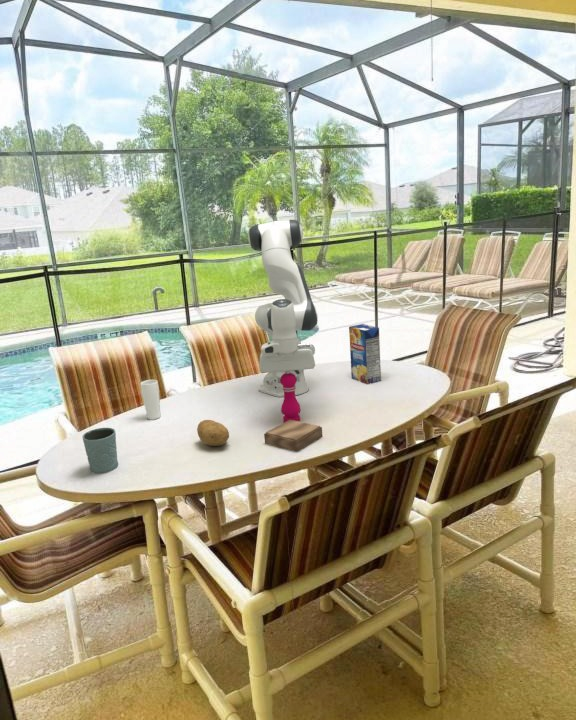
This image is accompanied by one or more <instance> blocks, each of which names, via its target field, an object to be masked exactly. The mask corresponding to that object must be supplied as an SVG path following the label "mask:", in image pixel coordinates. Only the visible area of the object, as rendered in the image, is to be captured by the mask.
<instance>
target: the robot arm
mask: <svg viewBox="0 0 576 720" xmlns="http://www.w3.org/2000/svg"><path fill="white" fill-rule="evenodd" d="M303 235H304V230H303V228H302V225H301V223H300V222H299V221H298V220H296V219H289V220H288V219H287V220H273V221H270V222H264V223H261V224H258V223H257V224H254V225H252V226H250V228H249V229H248V235H247V241H248V244H249V246H250V247H251V249H252V250H254V251H256V252H261V261H262V267H263V270H265V272H266V273H267V278H268V279H267V280H268V286H269V288H270V290H271V291H272V292H274V293H275V294H278V295H281V296H282V297H283V298H279V299H276V300H274V301H272V302H270V303H269V302H268V303H266V304H262V305H260V306H258V307H257V308H256V310H255V314H254V320H255V323H256V325H257V326H258V328H259V329H261V330H264V332H266V333H267V334H268V335H269V336H270V338H271V340H270V341H268V342H266V343H263V344H262V345H261V348H260V349H261V350H260V351H261V353H260V356H259V367H258V368H259V371H260V372H261V374H265V373H266V374H265V375H264V377H263V381H262V385H261V386H259V387H258V392H262V393H264V394H268V395H271V396H274V397H277V398H284V391H283V390H282V389H283V388H282V386H283V385H282V384H281V383H280V378H281V376H282V375H283V374H285V371H290V373H292V374H294V375H295V376H296V379H297V382H296V384H295V386H296V390H295V396H299V395H302V394H305V393H307V392H308V390H309V387H308V384H307V380H306V375H305V371H304V370H313V369H314V368H315V367H316V362H315V357H314V355H315V353H316V348H315V346H314V345H313V344H311V343H310V342H309V343H302V342H301V340H300V339H299V337H298V335H297V331H308V332H309V331H312V330H313V329H314V328H315V327H317V325H318V320H319V317H318V312H317V309H316V306H315V305H314V302H313V299H312V297H311V294H310V293H311V292H310V291H309V287H308V284H307V280H306V277H305V274H304V271H303V269H302V267H301V265H300V264H297V263H296V262H295V261H294V260H293V257H292V252H291V249H290V248H291V247H292V250H293V251H294V250H295V249H296V248H297V247H298V246H299V245H300V244H301V243H302V240H303V237H304V236H303Z"/></svg>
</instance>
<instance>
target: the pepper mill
mask: <svg viewBox="0 0 576 720" xmlns="http://www.w3.org/2000/svg"><path fill="white" fill-rule="evenodd" d="M296 382H297V379H296V376H295V375H294V374H292V373H290V371H285V374H283V375H282V376H281V378H280V383H281V384H282V385H283V386H282V388H283V389H282V390H283V391H284V396H283V401H282V403H281V408H280V410H281V411H280V412H281V414H282V415H283V416H282V420H283V423H284V422H286V421H288V420H294V421H299V422H301V421H300V420H301V416H300V413H301V405H300V403H299V401H298V399H297V398H296V396H297V395H295V390H296V386H295V384H296Z"/></svg>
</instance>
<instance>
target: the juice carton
mask: <svg viewBox="0 0 576 720" xmlns="http://www.w3.org/2000/svg"><path fill="white" fill-rule="evenodd" d="M348 330H349V331H348V333H349V334H348V335H349V351H350V356H349V357H350V370H351V372H350V373H351V379H352V380H354V381H356V382H359V381H360V383H363V384H365V385H370V383H371V384H374V383H378V382H382V376H381V375H382V372H381V345H380V344H381V343H380V327H377V326H373V325H368V324H365V323H361V324H355V325H350V326H348Z"/></svg>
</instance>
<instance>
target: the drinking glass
mask: <svg viewBox="0 0 576 720" xmlns="http://www.w3.org/2000/svg"><path fill="white" fill-rule="evenodd" d="M158 381H159V380H157V379H146V380H143V381H141V382H140V390H141V391H140V392H141V396H142V397H141V398H142V400H143V404H144V407H145V408H144V409H145V412H146V416H147V419H148V420H150V421H151V420H152V421H153V420H157V419H160V418H161V404H160V403H161V401H160V398H161V397H160V386H159V382H158Z"/></svg>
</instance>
